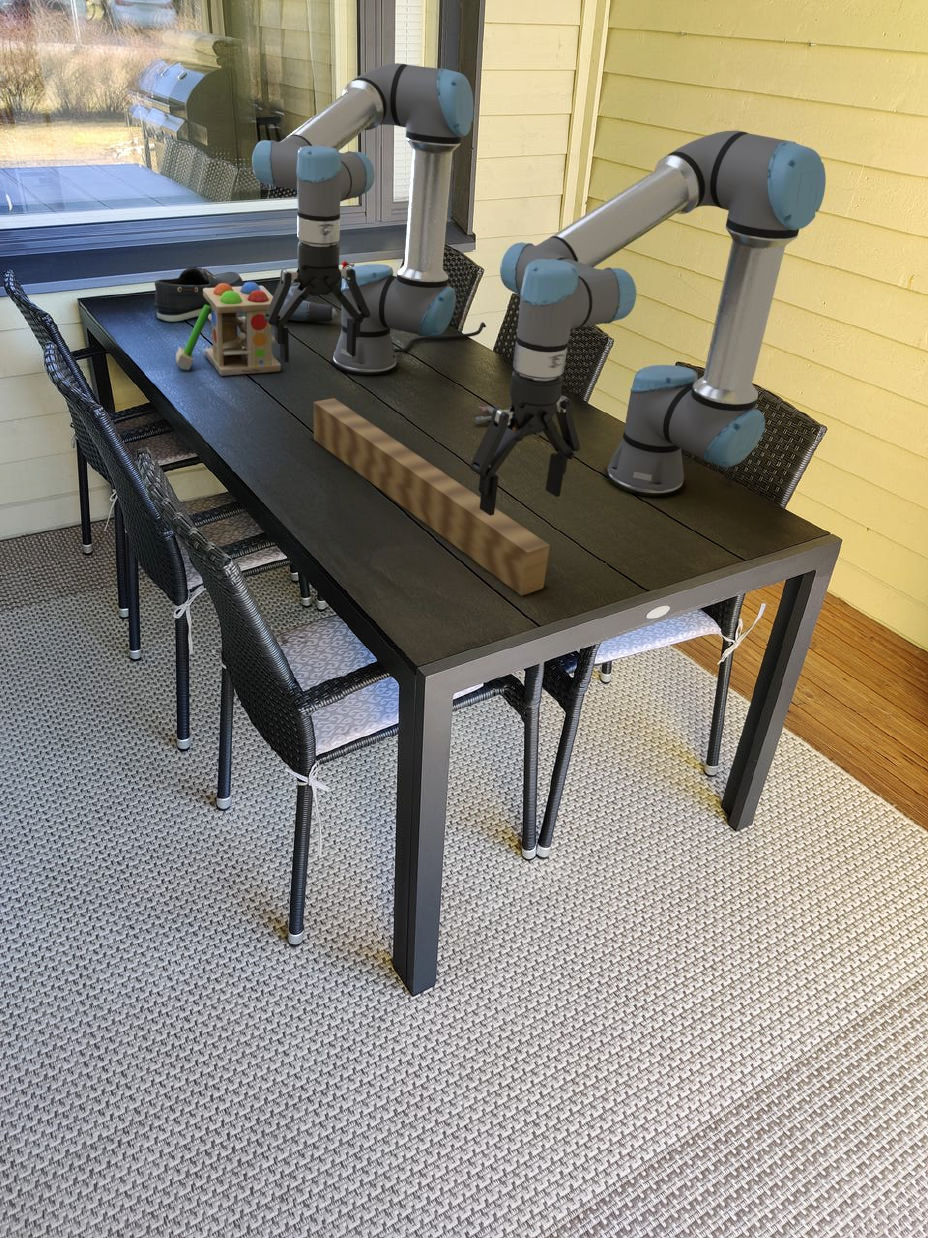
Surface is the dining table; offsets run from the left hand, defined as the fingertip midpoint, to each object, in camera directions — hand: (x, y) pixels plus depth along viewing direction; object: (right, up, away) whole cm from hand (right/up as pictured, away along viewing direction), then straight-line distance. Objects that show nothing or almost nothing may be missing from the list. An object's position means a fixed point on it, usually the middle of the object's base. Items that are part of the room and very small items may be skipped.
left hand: (318, 356), depth 188 cm
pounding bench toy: (-28, +9, +42) cm, 51 cm away
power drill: (-15, +33, +79) cm, 87 cm away
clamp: (+36, -9, +25) cm, 45 cm away
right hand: (+37, -32, -33) cm, 59 cm away
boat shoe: (-43, +34, +76) cm, 94 cm away
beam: (+19, -29, -8) cm, 36 cm away
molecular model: (-11, +48, +102) cm, 113 cm away
